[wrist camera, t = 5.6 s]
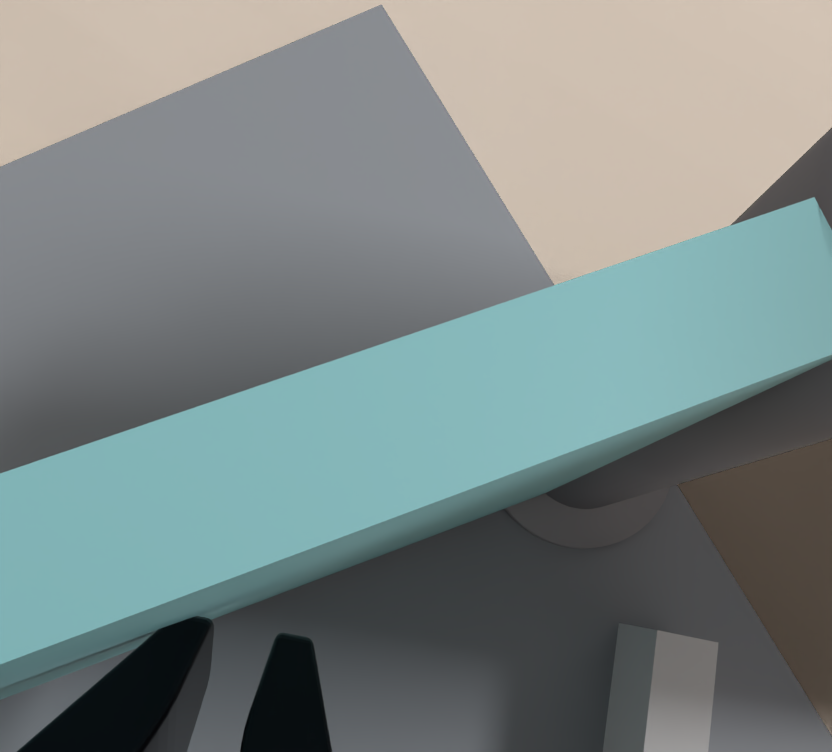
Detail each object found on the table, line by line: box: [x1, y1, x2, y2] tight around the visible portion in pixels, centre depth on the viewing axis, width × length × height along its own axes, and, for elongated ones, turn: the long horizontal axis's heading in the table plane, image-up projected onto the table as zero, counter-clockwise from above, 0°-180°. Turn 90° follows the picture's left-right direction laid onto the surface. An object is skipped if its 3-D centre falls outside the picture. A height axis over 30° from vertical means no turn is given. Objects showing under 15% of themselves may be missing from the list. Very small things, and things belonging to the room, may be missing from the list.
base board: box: [0, 5, 832, 752], centre depth 13 cm, size 19×24×3 cm
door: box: [0, 128, 832, 700], centre depth 9 cm, size 14×3×10 cm, turn 110°
